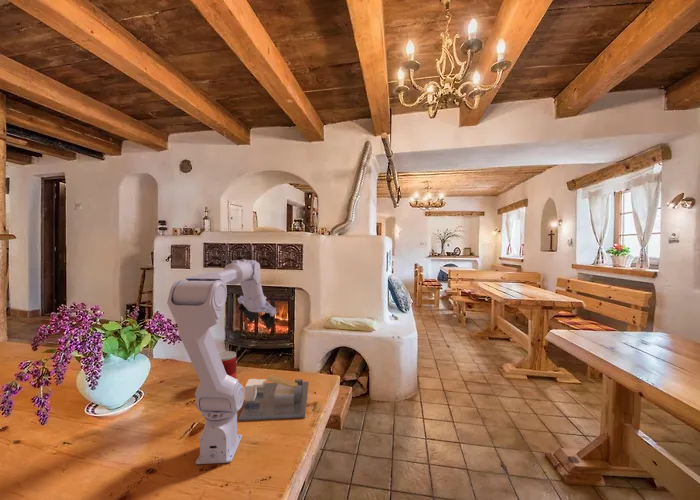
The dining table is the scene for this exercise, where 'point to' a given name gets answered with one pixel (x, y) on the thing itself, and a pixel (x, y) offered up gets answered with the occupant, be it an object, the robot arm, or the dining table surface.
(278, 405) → the base plate
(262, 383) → the latch
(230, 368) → the canned food
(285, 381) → the strap
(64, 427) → the dining table surface
